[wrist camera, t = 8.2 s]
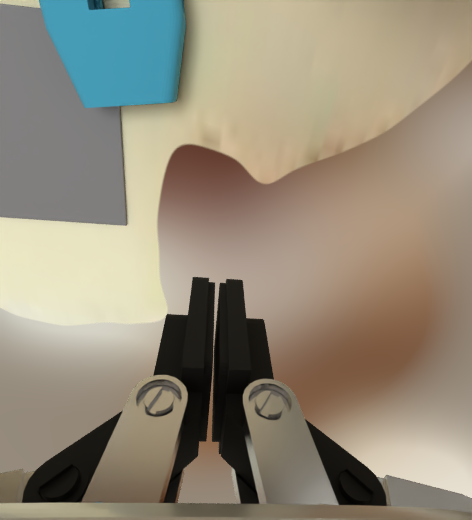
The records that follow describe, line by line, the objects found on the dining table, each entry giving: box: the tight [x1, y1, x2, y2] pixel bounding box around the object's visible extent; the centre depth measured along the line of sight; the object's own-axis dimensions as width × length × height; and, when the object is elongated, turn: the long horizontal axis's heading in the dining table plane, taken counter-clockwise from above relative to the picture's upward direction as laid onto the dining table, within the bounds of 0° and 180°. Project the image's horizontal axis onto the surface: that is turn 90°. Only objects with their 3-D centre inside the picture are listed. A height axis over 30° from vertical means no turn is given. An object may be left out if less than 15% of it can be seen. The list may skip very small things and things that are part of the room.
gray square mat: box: [0, 4, 127, 226], centre depth 39 cm, size 22×22×1 cm
